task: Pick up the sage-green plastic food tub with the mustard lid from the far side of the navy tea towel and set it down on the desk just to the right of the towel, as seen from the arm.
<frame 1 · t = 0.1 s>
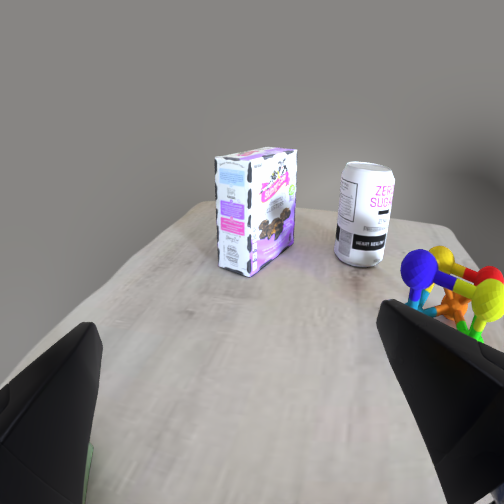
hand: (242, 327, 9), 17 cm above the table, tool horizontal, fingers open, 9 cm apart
candy box: (259, 256, 49), on the table
supplement can: (357, 258, 49), on the table
molecular model: (433, 340, 30), on the table
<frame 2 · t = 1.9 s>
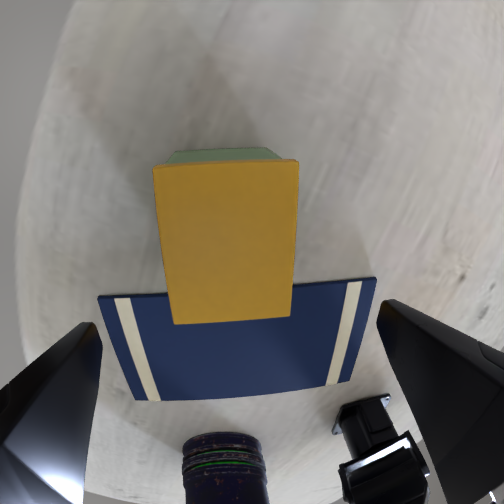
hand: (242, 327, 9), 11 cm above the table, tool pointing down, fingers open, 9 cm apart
storage jar: (221, 448, 32), on the table
food tub: (222, 206, 19), on the table
tea towel: (242, 350, 24), on the table
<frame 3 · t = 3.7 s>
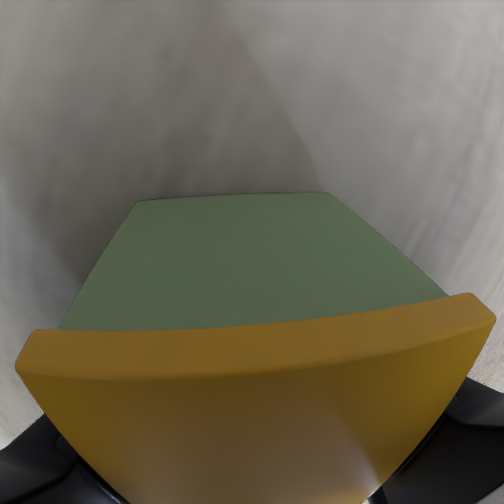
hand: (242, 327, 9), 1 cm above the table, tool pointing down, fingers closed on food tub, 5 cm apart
food tub: (237, 303, 10), on the table, touching gripper
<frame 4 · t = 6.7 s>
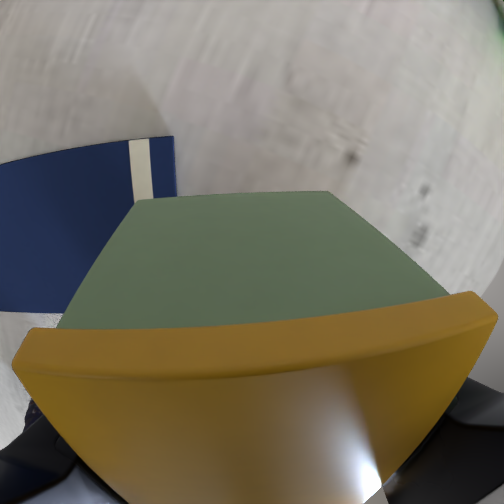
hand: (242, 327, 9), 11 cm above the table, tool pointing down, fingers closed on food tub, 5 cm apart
storage jar: (79, 399, 26), on the table
food tub: (237, 302, 10), point 10 cm above the table, touching gripper
tea towel: (40, 241, 18), on the table
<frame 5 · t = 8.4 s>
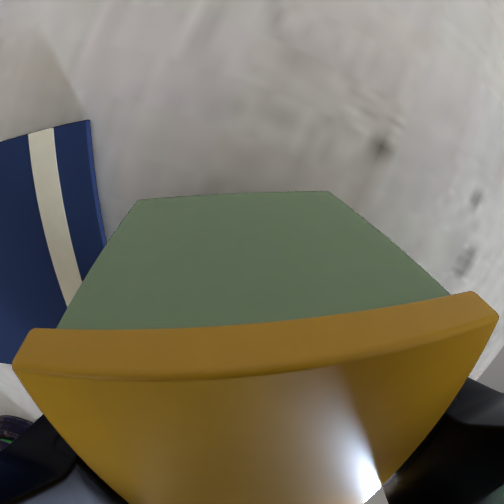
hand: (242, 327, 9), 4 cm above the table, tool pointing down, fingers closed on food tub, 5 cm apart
storage jar: (42, 444, 18), on the table
food tub: (237, 303, 10), point 3 cm above the table, touching gripper
when the fingers open (1 cm above the table, at t = 9.7 s): food tub stays where it is, on the table.
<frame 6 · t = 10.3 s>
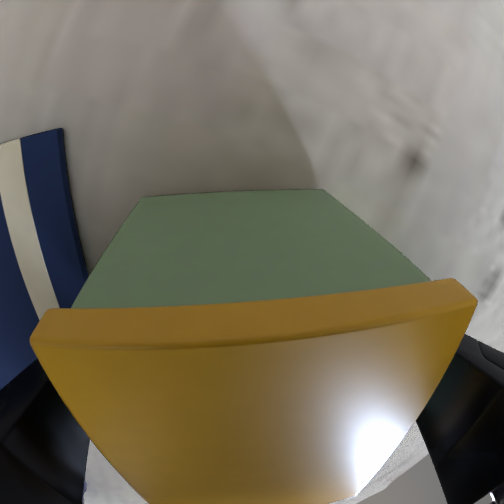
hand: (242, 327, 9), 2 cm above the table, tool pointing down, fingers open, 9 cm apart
food tub: (237, 296, 10), on the table
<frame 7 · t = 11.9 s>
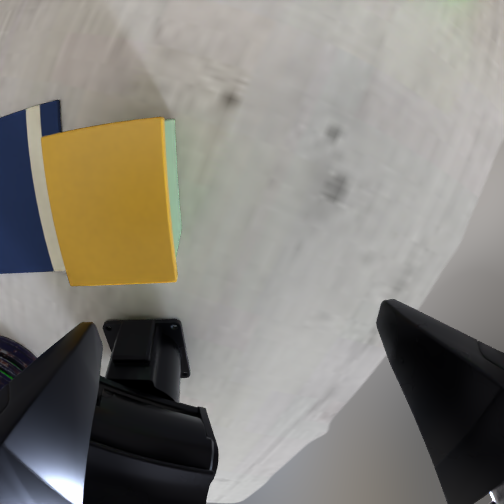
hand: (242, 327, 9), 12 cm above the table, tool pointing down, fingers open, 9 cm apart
storage jar: (17, 367, 24), on the table
food tub: (135, 179, 18), on the table
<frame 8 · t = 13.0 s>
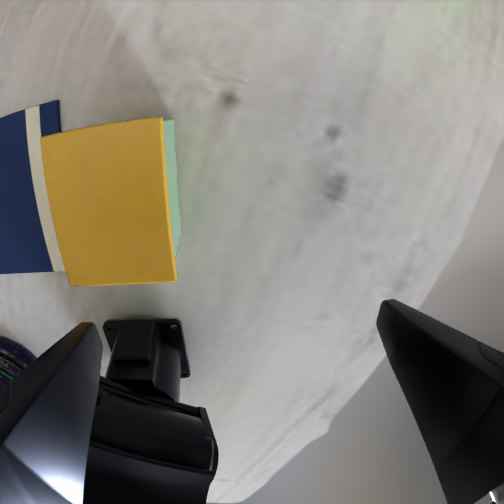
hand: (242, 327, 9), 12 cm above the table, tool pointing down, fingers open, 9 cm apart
storage jar: (17, 368, 24), on the table
food tub: (135, 179, 18), on the table
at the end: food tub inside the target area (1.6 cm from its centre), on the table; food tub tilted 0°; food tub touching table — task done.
